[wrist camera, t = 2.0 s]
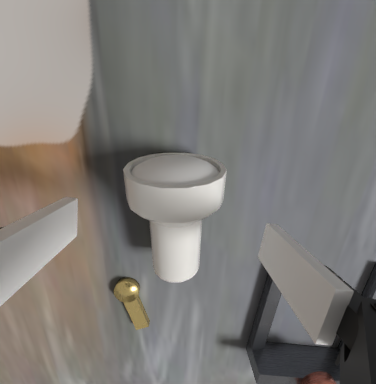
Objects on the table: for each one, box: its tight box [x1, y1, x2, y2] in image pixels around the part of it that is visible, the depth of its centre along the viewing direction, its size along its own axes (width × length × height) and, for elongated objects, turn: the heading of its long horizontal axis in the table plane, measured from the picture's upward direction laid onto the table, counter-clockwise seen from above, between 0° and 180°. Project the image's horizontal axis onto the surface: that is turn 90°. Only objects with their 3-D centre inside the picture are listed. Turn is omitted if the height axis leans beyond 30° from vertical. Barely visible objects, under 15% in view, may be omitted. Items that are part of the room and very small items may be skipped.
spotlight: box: [123, 153, 227, 282], centre depth 18 cm, size 8×11×8 cm
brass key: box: [114, 278, 150, 330], centre depth 24 cm, size 7×3×1 cm, turn 16°
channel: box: [246, 264, 376, 384], centre depth 23 cm, size 16×14×6 cm
